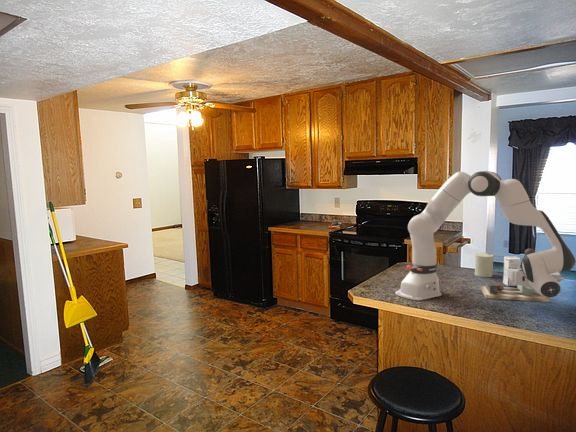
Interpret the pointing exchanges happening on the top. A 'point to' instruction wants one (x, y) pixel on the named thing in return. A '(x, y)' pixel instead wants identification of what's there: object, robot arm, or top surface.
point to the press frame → (509, 293)
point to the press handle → (525, 288)
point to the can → (484, 265)
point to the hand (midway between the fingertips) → (528, 270)
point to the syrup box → (510, 263)
